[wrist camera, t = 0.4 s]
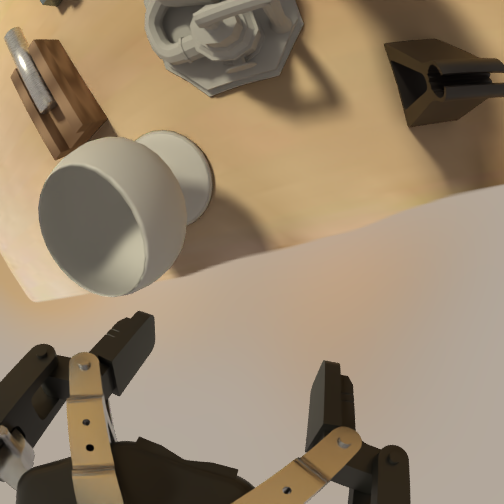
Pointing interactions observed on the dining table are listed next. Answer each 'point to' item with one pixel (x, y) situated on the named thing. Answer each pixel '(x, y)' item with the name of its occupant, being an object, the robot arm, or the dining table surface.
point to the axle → (29, 71)
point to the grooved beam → (60, 100)
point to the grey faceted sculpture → (222, 39)
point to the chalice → (123, 209)
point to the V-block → (50, 2)
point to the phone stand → (440, 80)
